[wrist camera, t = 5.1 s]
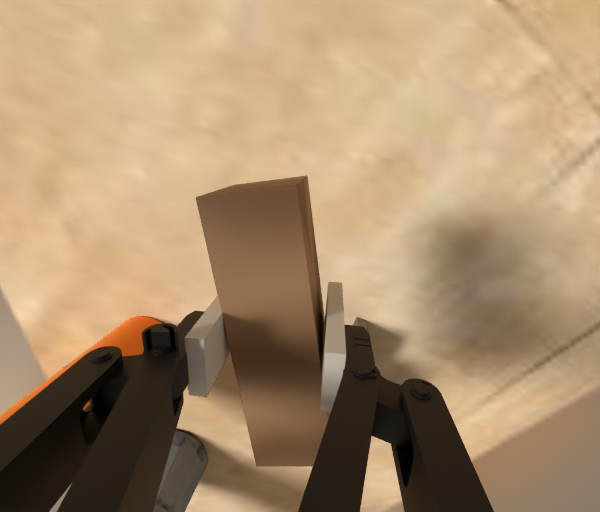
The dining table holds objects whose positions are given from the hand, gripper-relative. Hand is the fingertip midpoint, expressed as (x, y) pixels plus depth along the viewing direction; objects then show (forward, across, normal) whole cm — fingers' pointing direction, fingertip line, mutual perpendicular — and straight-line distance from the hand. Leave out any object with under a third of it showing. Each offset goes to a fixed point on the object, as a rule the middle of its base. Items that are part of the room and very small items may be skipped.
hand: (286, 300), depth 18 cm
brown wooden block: (+1, 0, 0) cm, 1 cm away
